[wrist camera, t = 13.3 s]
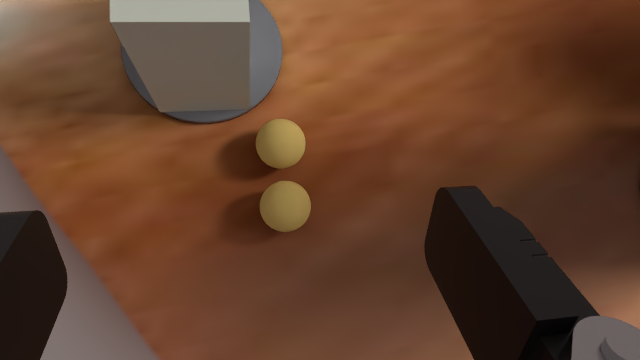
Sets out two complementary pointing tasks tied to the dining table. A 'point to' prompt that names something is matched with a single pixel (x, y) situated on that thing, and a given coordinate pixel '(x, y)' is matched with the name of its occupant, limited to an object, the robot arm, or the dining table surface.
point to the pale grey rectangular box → (188, 51)
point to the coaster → (261, 68)
